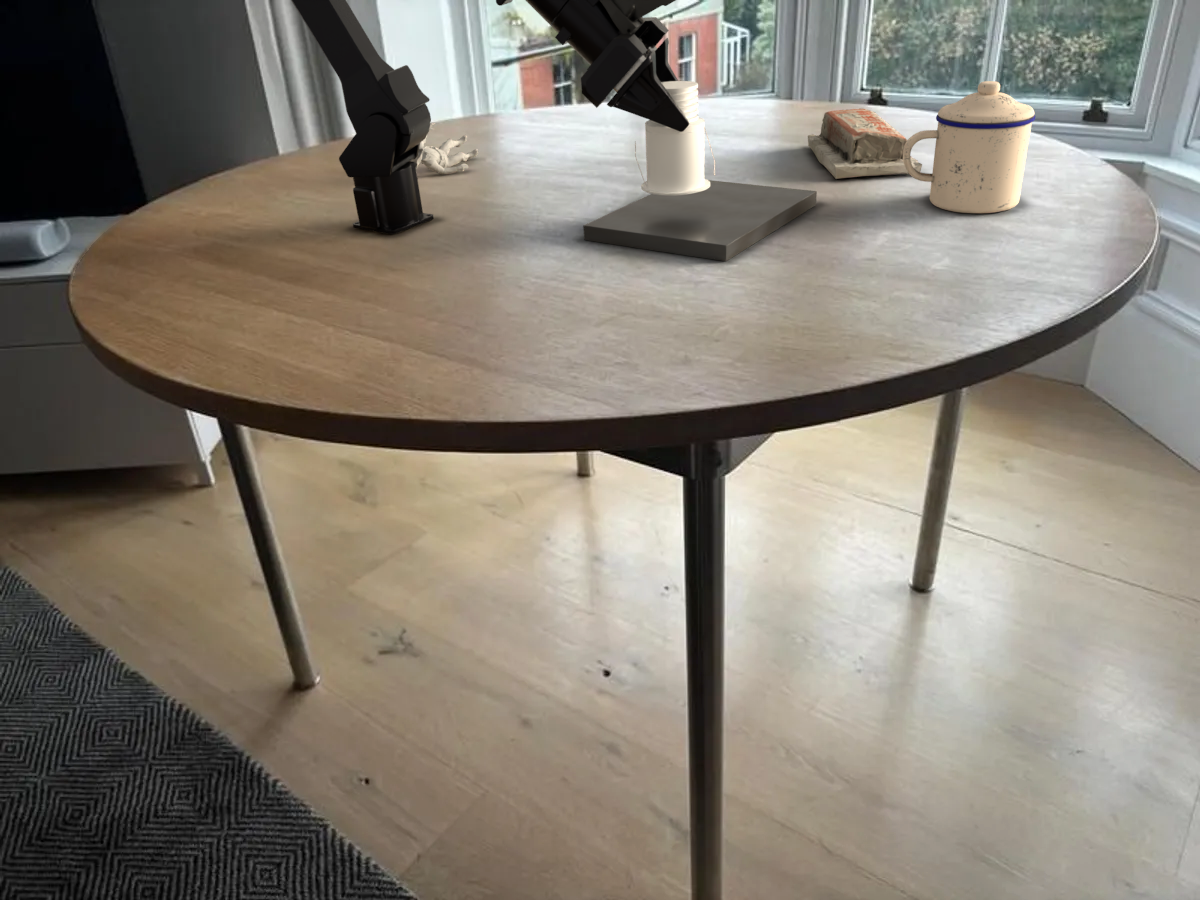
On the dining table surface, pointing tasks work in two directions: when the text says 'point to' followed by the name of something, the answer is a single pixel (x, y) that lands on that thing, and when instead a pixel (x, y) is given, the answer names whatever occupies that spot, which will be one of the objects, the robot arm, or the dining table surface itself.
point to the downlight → (676, 148)
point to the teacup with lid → (977, 152)
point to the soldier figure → (443, 156)
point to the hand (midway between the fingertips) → (689, 121)
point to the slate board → (702, 219)
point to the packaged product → (859, 145)
